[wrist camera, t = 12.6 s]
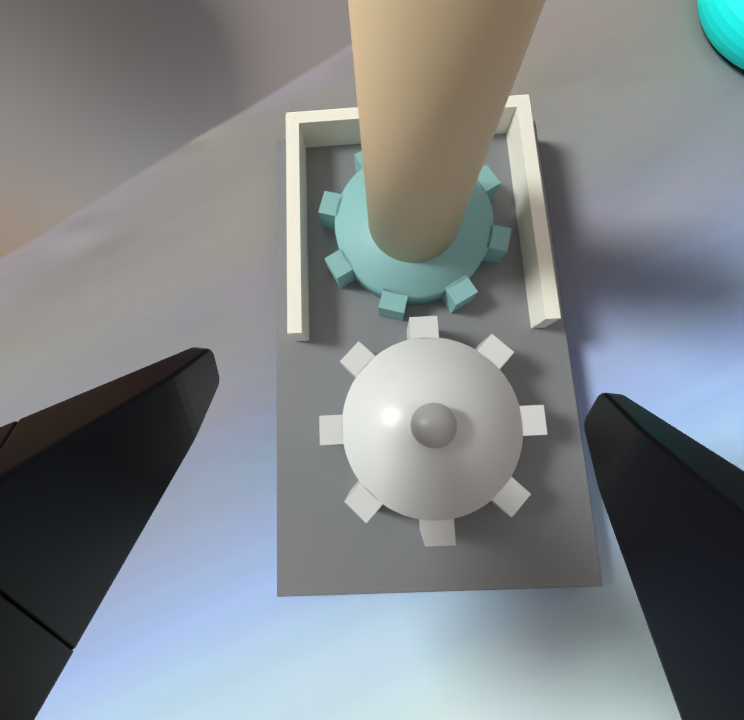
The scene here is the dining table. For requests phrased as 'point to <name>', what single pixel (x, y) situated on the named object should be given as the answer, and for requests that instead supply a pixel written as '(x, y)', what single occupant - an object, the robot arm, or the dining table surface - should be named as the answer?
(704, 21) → the donuts
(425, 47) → the gear
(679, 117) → the dining table surface
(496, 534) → the carrier plate
